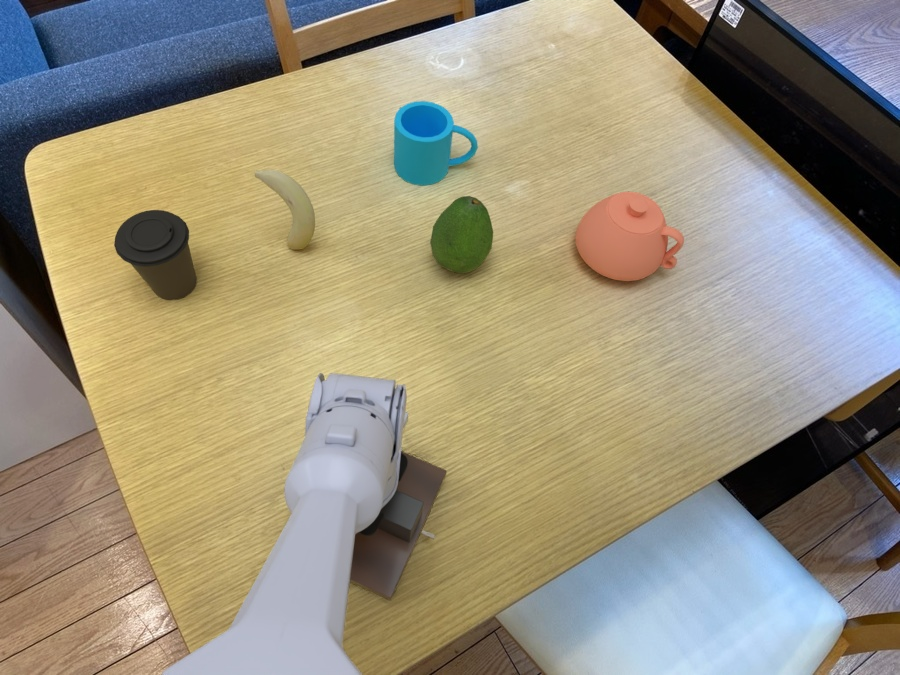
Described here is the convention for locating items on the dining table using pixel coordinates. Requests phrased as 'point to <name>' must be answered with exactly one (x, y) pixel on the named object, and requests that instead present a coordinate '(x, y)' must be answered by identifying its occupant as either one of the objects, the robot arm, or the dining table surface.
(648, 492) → the dining table surface
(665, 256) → the sugar bowl
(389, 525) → the gray bar
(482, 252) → the fruit
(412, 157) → the mug
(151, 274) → the coffee cup
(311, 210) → the fruit
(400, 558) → the brown pegged board
